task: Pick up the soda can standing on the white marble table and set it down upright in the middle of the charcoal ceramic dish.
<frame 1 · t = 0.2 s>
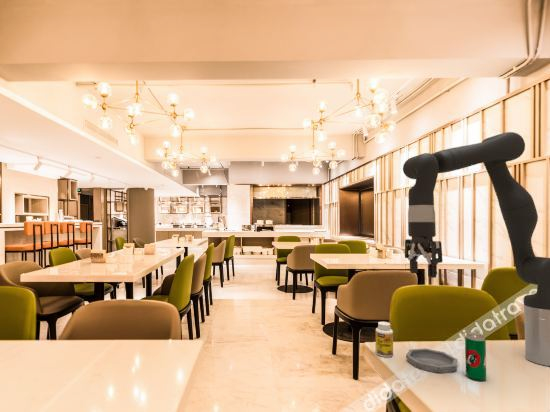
hand: (422, 275, 98), 28 cm above the table, tool pointing down, fingers open, 8 cm apart
supplement bottle: (384, 355, 109), on the table
soda can: (476, 378, 93), on the table
dish: (431, 363, 103), on the table
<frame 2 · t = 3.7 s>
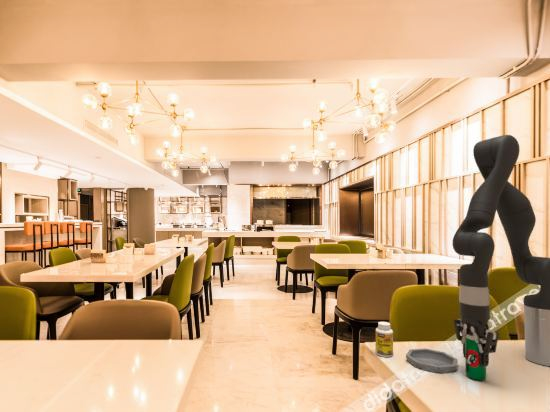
hand: (475, 361, 94), 4 cm above the table, tool pointing down, fingers closed on soda can, 5 cm apart
soda can: (475, 378, 93), on the table, touching gripper
everything else where it was.
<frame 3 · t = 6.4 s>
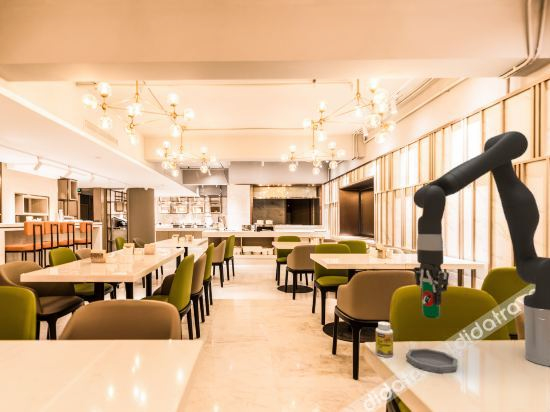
hand: (430, 302, 104), 19 cm above the table, tool pointing down, fingers closed on soda can, 5 cm apart
soda can: (431, 317, 104), point 14 cm above the table, touching gripper
everything else where it was.
when the fingers open (6 cm above the table, at t = 9.4 s): soda can stays where it is, resting on dish.
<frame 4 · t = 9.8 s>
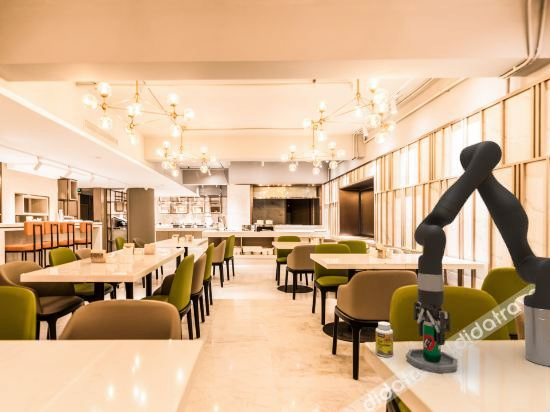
hand: (431, 340, 103), 7 cm above the table, tool pointing down, fingers open, 8 cm apart
soda can: (432, 360, 103), point 1 cm above the table, touching dish
everything else where it was.
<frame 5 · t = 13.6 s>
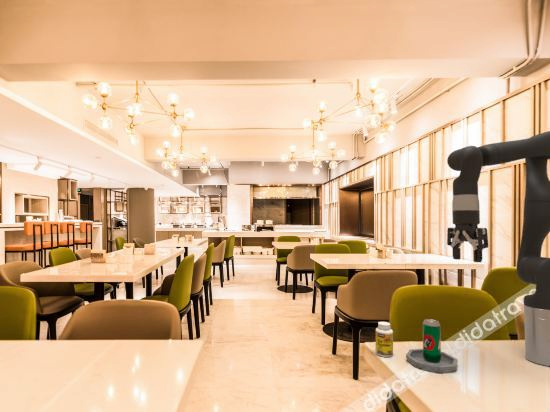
hand: (466, 260, 104), 32 cm above the table, tool pointing down, fingers open, 8 cm apart
nothing on the table moved.
at the end: soda can inside the target area on the dish (0.2 cm from its centre), point 0.8 cm above the dish's base; soda can tilted 0°; the gripper is holding nothing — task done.
